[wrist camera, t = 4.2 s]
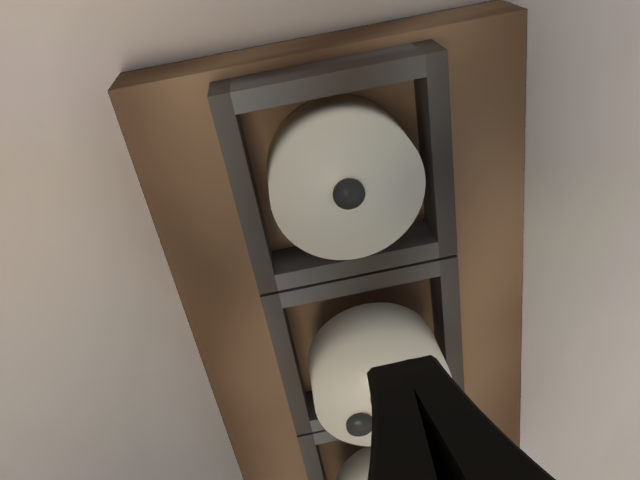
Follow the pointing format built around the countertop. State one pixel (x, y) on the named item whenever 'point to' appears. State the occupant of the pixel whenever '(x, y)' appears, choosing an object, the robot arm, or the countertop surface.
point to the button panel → (325, 274)
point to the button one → (343, 178)
